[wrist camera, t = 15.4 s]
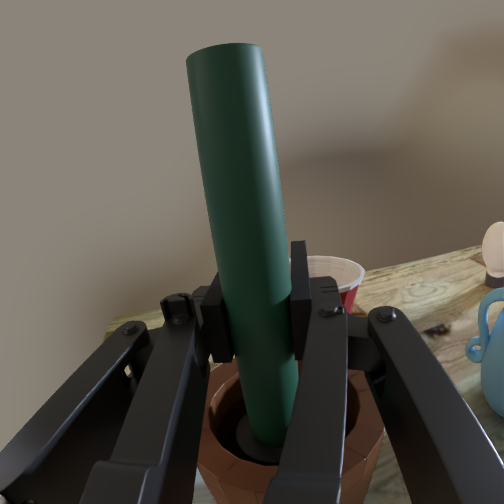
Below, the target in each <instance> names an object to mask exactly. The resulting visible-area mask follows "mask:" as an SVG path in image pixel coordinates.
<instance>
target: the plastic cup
mask: <svg viewBox="0 0 504 504" xmlns="http://www.w3.org/2000/svg"><path fill="white" fill-rule="evenodd" d="M307 261H308V270H309V278H312V277H324V276H331V277H332V278H334V279H335V280H336V282H337V286H338V289H339V293H340V297H341V300H342V304H343V306H345V307H346V309H347V313H349V314H351V311H352V307H353V302H354V299H355V295H356V292H357V289H358V286H359V284H360V283H361V282H362V279H363V276H364V273H365V270H364V269H363V268H362V267H361V266H360V265H359V264H357V263H355V262H353V261H350V260H348V259H342V258H338V257H331V256H307ZM289 266H290V277H291V258H290V259H289Z"/></svg>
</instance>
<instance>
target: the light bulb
mask: <svg viewBox="0 0 504 504" xmlns="http://www.w3.org/2000/svg"><path fill="white" fill-rule="evenodd" d="M482 254H483V259H484V262H485V264H486V266H487V270H486V271H487V272H486V278H485V285H487V286H488V287H490V288H495V289H497V288H503V287H504V222H497V223H494V224H493V225H492V226H490V227H489V229H488V230H487V232H486V234H485V236H484V239H483V244H482Z"/></svg>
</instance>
